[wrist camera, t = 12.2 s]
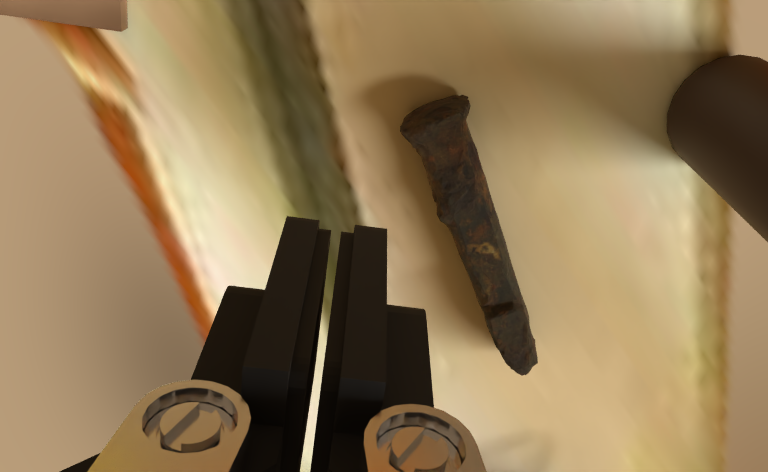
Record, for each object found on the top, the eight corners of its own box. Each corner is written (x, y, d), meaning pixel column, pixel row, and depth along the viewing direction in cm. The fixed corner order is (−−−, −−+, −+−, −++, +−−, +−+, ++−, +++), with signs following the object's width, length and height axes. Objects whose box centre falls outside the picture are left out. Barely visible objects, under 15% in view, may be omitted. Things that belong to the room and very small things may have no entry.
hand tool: (397, 106, 41) (397, 134, 36) (464, 85, 40) (472, 110, 36) (480, 355, 49) (488, 400, 45) (536, 341, 48) (550, 385, 44)
